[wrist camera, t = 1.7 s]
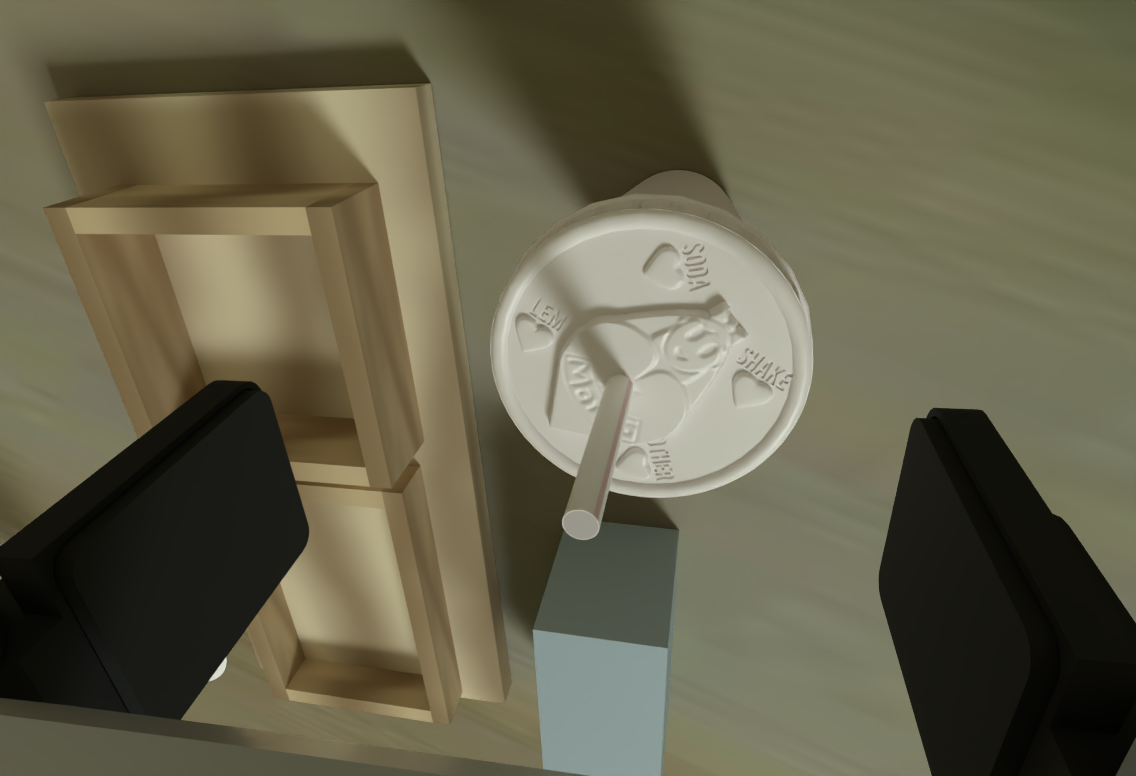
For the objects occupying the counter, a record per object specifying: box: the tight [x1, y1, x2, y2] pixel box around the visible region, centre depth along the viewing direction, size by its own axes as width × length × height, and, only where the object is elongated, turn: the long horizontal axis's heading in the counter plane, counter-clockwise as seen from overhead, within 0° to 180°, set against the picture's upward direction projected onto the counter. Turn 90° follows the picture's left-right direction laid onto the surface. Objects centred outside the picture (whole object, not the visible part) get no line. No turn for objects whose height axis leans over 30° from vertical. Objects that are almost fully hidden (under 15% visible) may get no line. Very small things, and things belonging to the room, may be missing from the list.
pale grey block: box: [533, 522, 679, 776], centre depth 28 cm, size 4×10×6 cm, turn 2°
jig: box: [43, 83, 511, 725], centre depth 27 cm, size 13×27×4 cm, turn 3°
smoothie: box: [490, 170, 813, 540], centre depth 16 cm, size 6×6×14 cm
